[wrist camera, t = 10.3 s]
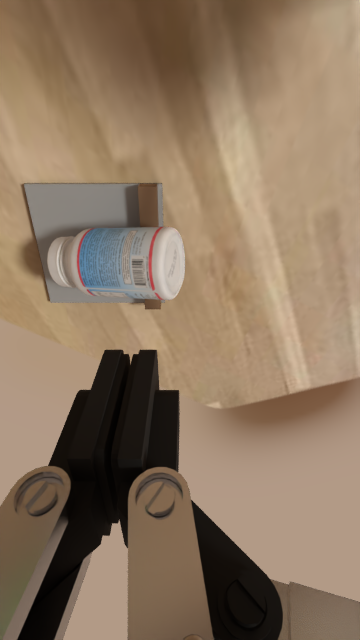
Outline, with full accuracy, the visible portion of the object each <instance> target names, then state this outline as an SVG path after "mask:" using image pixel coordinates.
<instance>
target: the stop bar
mask: <svg viewBox="0 0 360 640" xmlns="http://www.w3.org/2000/svg"><path fill="white" fill-rule="evenodd" d="M138 199H139V215H140V227H159V218H158V187H157V184H139V186H138ZM145 309H161V300H157V299H145Z"/></svg>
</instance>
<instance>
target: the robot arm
mask: <svg viewBox="0 0 360 640" xmlns="http://www.w3.org/2000/svg"><path fill="white" fill-rule="evenodd" d="M178 462H179V390H159V375H158V359H157V350H140V351H139V354H133V357H132V361H131V365H130V357H129V354H124V353H123V350H105V351H104V354H103V356H102V359H101V362H100V365H99V368H98V371H97V373H96V376H95V379H94V382H93V385H92V388H91V390H80V391H79V392H78V393H77V395H76V397H75V400H74V402H73V405H72V407H71V410H70V412H69V415H68V417H67V420H66V422H65V425H64V427H63V430H62V433H61V435H60V437H59V440H58V442H57V445H56V448H55V450H54V453H53V455H52V458H51V460H50V462H49V465H48V466H44V467H40V468H36V469H34V470H32V471H30V472H28V473H27V474H25V475H24V476H23V477H22V478H20V479H19V480H18V481H17V482H16V484H15V485H14V486H13V487H12V489H11V490H10V492H9V494H8V495H7V497H6V498H5V500H4V501H3V503H2V505H1V506H0V640H63V637H64V634H65V631H66V629H67V626H68V623H69V620H70V617H71V614H72V611H73V608H74V606H75V602H76V600H77V597H78V594H79V591H80V588H81V585H82V583H83V580H84V577H85V574H86V571H87V568H88V565H89V563H90V558H91V554H92V552H93V550H95V549H96V548H97V547H98V546H99V545H100V544H101V540H102V535H106V536H109V535H110V531H111V526H112V523H118V521H119V519H120V524H121V528H122V533H123V538H124V542H125V545H126V547H127V548H128V640H360V602H358V601H355V600H351V599H348V598H345V597H341V596H338V595H334V594H331V593H328V592H324V591H321V590H317V589H314V588H311V587H307V586H304V585H301V584H297V583H294V582H290V583H289V585H288V584H284V583H281V582H278V581H274V580H271V579H269V578H268V576H267V575H266V574H265V573H264V572H263V571H262V570H261V569H260V568H259V567H258V566H257V565H256V564H255V563H254V562H253V561H252V560H251V559H250V558H249V557H248V556H247V555H246V554H245V553H244V552H243V551H242V550H241V549H240V548H239V547H238V546H237V545H236V544H235V543H234V542H233V541H232V540H231V539H230V538H229V537H228V536H227V535H226V534H225V533H224V532H223V531H222V530H221V529H220V528H219V527H218V526H217V525H216V524H215V523H214V522H213V521H212V520H211V519H210V518H209V517H208V516H207V515H206V514H205V513H204V512H203V511H202V510H201V509H200V508H199V507H198V506H197V505H196V504H195V503H194V502H193V501H192V500H191V497H190V491H189V488H188V485H187V482H186V481H185V479H184V478H183V477H182V475H181V474H179V473H178Z"/></svg>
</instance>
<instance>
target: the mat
mask: <svg viewBox="0 0 360 640" xmlns="http://www.w3.org/2000/svg"><path fill="white" fill-rule="evenodd" d="M139 184H157V187H158V218H159V227H163V198H162V183H25V184H24V187H25V192H26V196H27V201H28V205H29V209H30V214H31V218H32V223H33V227H34V231H35V236H36V240H37V245H38V249H39V253H40V258H41V262H42V266H43V271H44V275H45V280H46V284H47V288H48V293H49V297H50V302H51V303H145V299H139V298H122V297H104V296H91V295H87V294H85V293H83V292H82V291H80V290H79V289H78V288H77V287H76V288H71V287H63V286H60V285H58V284H57V283H56V282H55V281H54V280H53V278H52V277H51V275H50V272H49V269H48V263H47V257H48V251H49V248H50V246H51V244H52V242H53V241H54V240H55V239H57V238H59V237H69V236H73V237H76V236H77V235H78V234H79V233H80V232H81V231H83V230H86V229H91V228H134V227H140V215H139V199H138V186H139ZM161 303H165V300H161Z"/></svg>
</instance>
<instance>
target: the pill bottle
mask: <svg viewBox="0 0 360 640" xmlns="http://www.w3.org/2000/svg"><path fill="white" fill-rule="evenodd" d="M47 263H48V269H49V272H50V275H51V277H52V278H53V280H54V281H55V282H56V283H57V284H58V285H60V286H63V287H71V288H76V287H77V288H78V289H79V290H80V291H82V292H83V293H85V294H87V295H91V296H104V297H122V298H139V299H157V300H171V299H173V298H174V297H176V295H177V294H178V292H179V290H180V288H181V286H182V283H183V279H184V274H185V253H184V246H183V242H182V238H181V236H180V234H179V232H178V231H177V230H176V229H175V228H172V227H134V228H91V229H86V230H83V231H81V232H80V233H79V234H78V235H77V236H76V237H73V236H69V237H59V238H57V239H55V240H54V241H53V242H52V244H51V246H50V248H49V251H48V257H47Z"/></svg>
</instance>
